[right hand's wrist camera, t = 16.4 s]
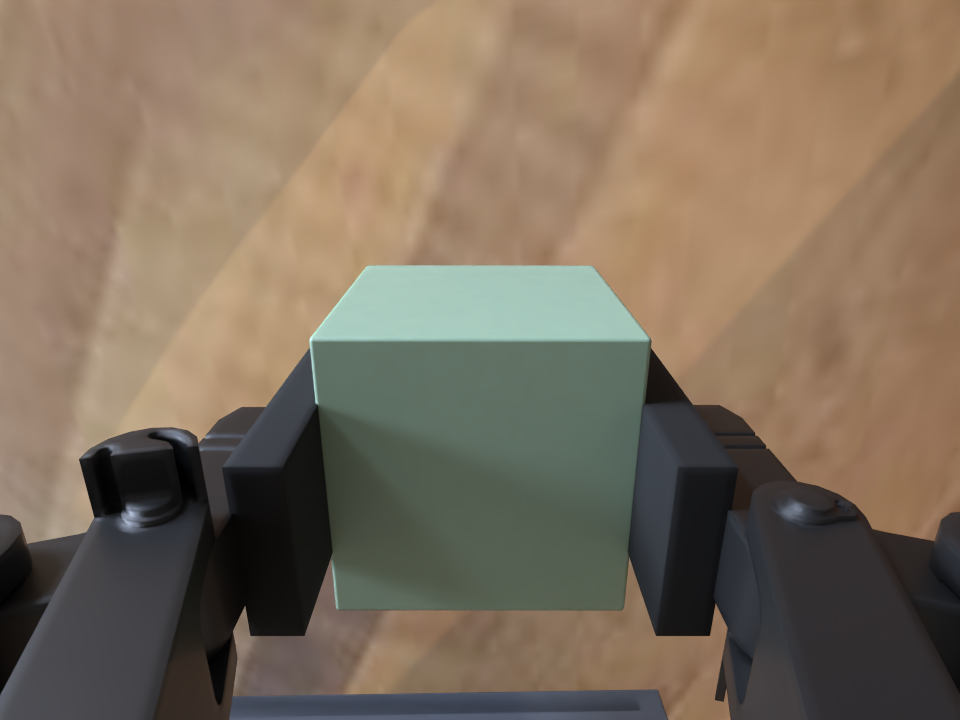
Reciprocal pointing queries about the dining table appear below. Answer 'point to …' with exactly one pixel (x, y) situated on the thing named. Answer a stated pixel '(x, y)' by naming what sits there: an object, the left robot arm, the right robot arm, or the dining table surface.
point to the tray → (456, 706)
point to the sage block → (480, 437)
